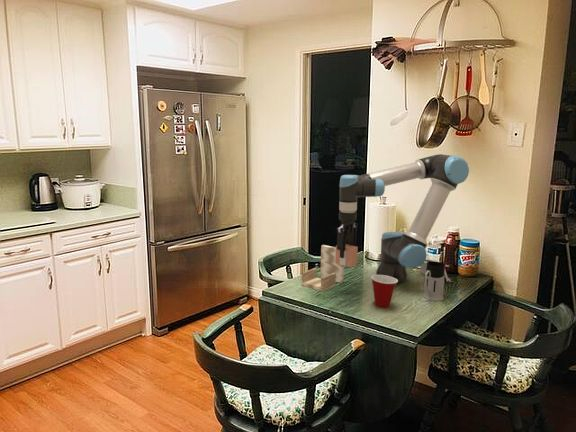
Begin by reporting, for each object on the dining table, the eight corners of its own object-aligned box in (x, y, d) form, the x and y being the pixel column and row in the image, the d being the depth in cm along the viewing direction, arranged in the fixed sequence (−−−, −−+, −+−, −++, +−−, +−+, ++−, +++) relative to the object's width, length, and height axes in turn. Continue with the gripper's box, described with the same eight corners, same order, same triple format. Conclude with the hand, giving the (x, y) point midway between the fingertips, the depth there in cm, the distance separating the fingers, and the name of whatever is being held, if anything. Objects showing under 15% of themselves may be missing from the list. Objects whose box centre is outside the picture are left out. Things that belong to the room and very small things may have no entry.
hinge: (451, 282, 222) (447, 264, 219) (443, 286, 221) (439, 268, 218) (428, 271, 238) (424, 254, 235) (421, 275, 236) (417, 258, 233)
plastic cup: (401, 309, 189) (403, 281, 187) (377, 311, 186) (378, 283, 184) (388, 299, 199) (389, 272, 197) (365, 301, 196) (366, 274, 194)
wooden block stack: (343, 281, 220) (344, 249, 217) (323, 291, 207) (324, 256, 204) (322, 276, 228) (323, 244, 225) (301, 285, 215) (302, 251, 212)
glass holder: (446, 296, 204) (449, 263, 201) (433, 305, 193) (436, 271, 190) (427, 291, 209) (430, 259, 206) (413, 300, 199) (416, 266, 196)
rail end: (357, 264, 203) (357, 246, 202) (351, 267, 199) (351, 249, 198) (341, 260, 208) (342, 243, 207) (335, 263, 204) (335, 245, 203)
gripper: (351, 207, 208) (349, 257, 213) (328, 213, 194) (327, 266, 199) (366, 209, 204) (364, 260, 208) (344, 215, 190) (342, 269, 194)
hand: (346, 263), depth 204 cm, fingers closed on rail end, 5 cm apart
